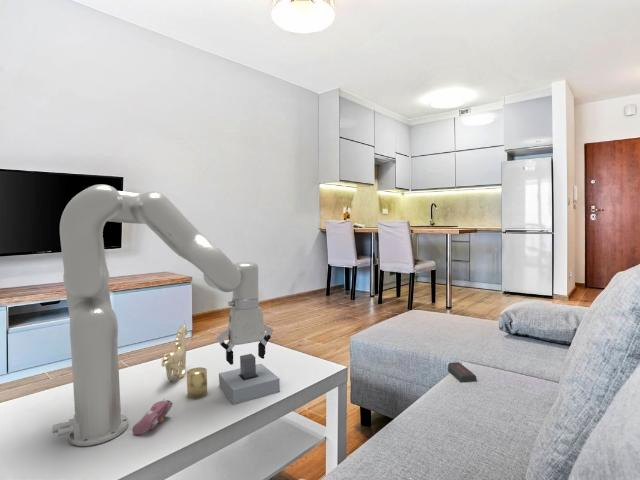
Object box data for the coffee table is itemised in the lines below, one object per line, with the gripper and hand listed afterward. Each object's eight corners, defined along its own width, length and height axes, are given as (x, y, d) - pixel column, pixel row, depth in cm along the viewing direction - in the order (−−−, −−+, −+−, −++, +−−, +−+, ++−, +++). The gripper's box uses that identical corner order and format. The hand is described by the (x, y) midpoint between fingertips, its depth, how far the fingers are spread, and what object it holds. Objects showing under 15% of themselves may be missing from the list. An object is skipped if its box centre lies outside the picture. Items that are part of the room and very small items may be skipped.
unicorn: (170, 392, 111) (168, 336, 111) (157, 393, 111) (155, 336, 111) (193, 366, 131) (191, 318, 131) (182, 367, 131) (180, 318, 131)
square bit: (244, 392, 110) (243, 359, 110) (241, 388, 114) (240, 355, 113) (256, 389, 112) (255, 357, 112) (252, 385, 115) (251, 353, 115)
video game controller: (144, 443, 89) (155, 418, 88) (129, 433, 89) (139, 408, 88) (168, 421, 98) (178, 398, 98) (154, 412, 99) (164, 390, 98)
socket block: (233, 404, 103) (233, 390, 103) (219, 385, 115) (218, 373, 115) (279, 391, 111) (279, 378, 110) (261, 375, 123) (261, 363, 122)
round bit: (189, 400, 106) (188, 376, 106) (185, 393, 111) (184, 370, 111) (209, 395, 109) (208, 372, 109) (204, 388, 114) (203, 366, 114)
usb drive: (460, 383, 114) (460, 374, 114) (443, 368, 126) (443, 360, 126) (476, 382, 115) (476, 374, 115) (458, 367, 127) (458, 359, 127)
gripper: (220, 309, 104) (221, 370, 105) (277, 302, 113) (277, 358, 114) (213, 304, 110) (213, 361, 111) (267, 298, 119) (267, 351, 120)
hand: (246, 360), depth 112 cm, fingers open, 9 cm apart
